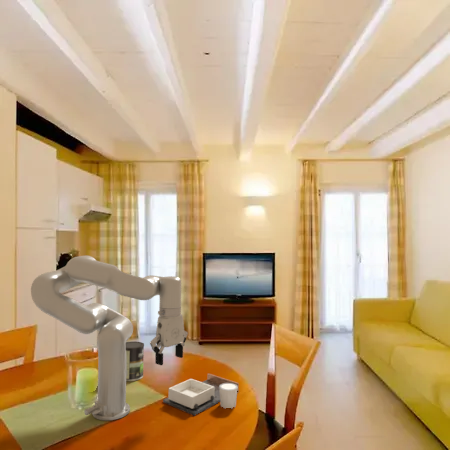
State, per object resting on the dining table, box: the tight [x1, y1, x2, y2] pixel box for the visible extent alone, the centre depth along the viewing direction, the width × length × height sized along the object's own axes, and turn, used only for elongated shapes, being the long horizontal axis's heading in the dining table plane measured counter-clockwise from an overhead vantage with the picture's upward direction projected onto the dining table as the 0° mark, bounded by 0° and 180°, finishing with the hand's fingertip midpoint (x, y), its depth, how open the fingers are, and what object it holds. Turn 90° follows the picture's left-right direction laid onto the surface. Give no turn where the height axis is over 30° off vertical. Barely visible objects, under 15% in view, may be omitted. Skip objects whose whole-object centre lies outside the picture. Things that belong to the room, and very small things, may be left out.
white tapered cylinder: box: [219, 383, 239, 409], centre depth 140 cm, size 7×7×7 cm
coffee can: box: [126, 341, 145, 382], centre depth 165 cm, size 10×10×14 cm
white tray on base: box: [167, 378, 215, 409], centre depth 142 cm, size 12×14×4 cm
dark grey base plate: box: [162, 373, 240, 416], centre depth 146 cm, size 26×16×4 cm, turn 142°
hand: (169, 360), depth 133 cm, fingers open, 9 cm apart
